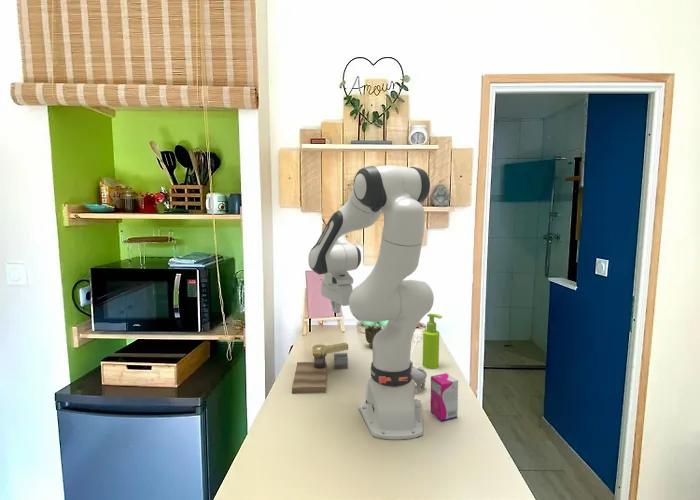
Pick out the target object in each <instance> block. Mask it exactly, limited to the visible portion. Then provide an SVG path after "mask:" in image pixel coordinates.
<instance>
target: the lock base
mask: <svg viewBox="0 0 700 500" xmlns="http://www.w3.org/2000/svg"><path fill="white" fill-rule="evenodd" d="M348 359H349V357H348V353H347V352H333V361H334V363H333V365H334V367H333V369H334V370H339V369H340V370H343V369H345V370H346V369H349V362H348V361H349V360H348ZM313 360H314V361H297V362H296V367H295V371H294V375H293V380H292V386H291V394H316V393H317V394H321V393H322V394H325V393H326V394H327V373H328V372H327V371H328V370H327V368H328V362H327V361H326V356H325V357H322V358H316V357H314V356H313Z"/></svg>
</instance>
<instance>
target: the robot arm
mask: <svg viewBox="0 0 700 500" xmlns="http://www.w3.org/2000/svg"><path fill="white" fill-rule="evenodd" d="M430 189H431V180H430V178H429V175H428V173H427V172H426V171H425V170H424V169H422V168H420V167H416V166H410V167H409V166H401V165H394V164H393V165H391V164H389V165H378V166H375V165H369V166H365V167H362V168H360V169H358V171H357V173H356V174H355V176H354V179H353V188H352V190H351V192H350V194H349V195H350V196H349V197H348V199H347V201H346V202H345V203H344V204H343V205H342V207H341V208H339V209H338V210H337V211H335V212H334V213H333V214H332V215H331V217H330V218H329V220H328V221H327V223H326V225H325V227H324V229H323V230H322V232H321V234H320V236H319V238H318V240H317V241H316V243H315V244H314V245H313V247H312V248H311V249H310V251H309V253H308V266H309V268H310V269H311V270H312V271H313V272H314V273H315V274H317V275H320V276H321V275H323V278H322V279H321V285H320V286H321V289H320V292H321V296H322V297H324V298H326V299H328V300H330V305H331V310H332V312H333V313H336V314H339V313H341V306H343V307H346V306H349V311H350V312H351V314H352V316H353V317H354V318H355V319H356V320H357V321H361V322H369V323H377V322H386V321H387V323H386V324H385V326H384V327H383V328H381V329H382V330H380V331H379V332H378V333H377V334H376V335H375V337H374V339H373V348H372V361H371V364H370V377H369V379H368V380H367V381H366V382H365V394H364V395H365V398H364V399H365V400H364V402H363V403H361V404H360V405H359V407H358V410H359V412H360V415H361V416H362V418H363V420H364V422H365V424H366V427H367V428H368V430H369V432H370V434H371V435H372V436H373V437H375V438H378V439H384V440H408V439H410V440H411V439H414V438H417V437H421V436H423V435H424V423H423V421H424V420H423V407H422V406H423V405H422V402H421V401H422V400H421V399H416V397H415V395H418V394H419V393H418V390H416V389H415V388H416V387H415V386H416V383H415V381H414V380H413V379H412V368H411V364H410V360H411V351H412V339H413V338H414V334H415V331H416V329H417V327H418V325H419V323H420V322H421V320H422V319H423V318H424V317H425V316H426V315H428V314H429V312H430V311H431V310H432V308H433V306H434V302H435V301H434V298H435V297H434V293H433V290H432V288H431V286H430V285H429V284H428V283H427V282H425V281H422V280H413V279H406V278H407V277H408V276H410V275H412V274H413V273H415V271H416V270H417V268H418V267H419V262H420V257H421V250H422V245H423V241H424V233H425V209H424V207H423V204H422V202H424V201H426V199H427V198H428V196H429V193H430ZM381 214H383V217H384V218H383V221H384V222H383V227H382V232H381V239H380V240H381V241H380V246H379V252H378V257H377V260H376V263H375V265H374V266H373V268H372V270H371V272H370V273H369V274H368V276H367V277H366V278H365V279H364V280H363V281H362V282H361V283H360V284H359V285H357V286H355V287H354V288H353V284H354V277H352V276H351V274H350V273H349V272H350V271H351V272H352V271H354V270H357V269H358V267H359V266H360V264H361V262H362V253H361V250H360V248H359V247H358V246H357V245H355V244H354V243H351V242H349V240H347V236H346V234H348V233H351V232H355V231H359V230H362V229H366V228H369V227H371V226H373V225H374V224H375V223H376V222H377V221H378V220H379V218H380V217H381Z"/></svg>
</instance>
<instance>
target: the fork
mask: <svg viewBox="0 0 700 500" xmlns="http://www.w3.org/2000/svg"><path fill="white" fill-rule="evenodd" d="M413 341H414V344H413V346H412V348H411V351H410V354H413V352H414V351H415V349H416V346H417V344H418V342H419V343H420V342H421V341H422V334H419V333H416V334H415V335H414V337H413Z"/></svg>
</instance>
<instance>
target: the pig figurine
mask: <svg viewBox="0 0 700 500" xmlns="http://www.w3.org/2000/svg"><path fill="white" fill-rule="evenodd" d="M410 364H411V368H412V379H413V380H414V381H415V385H416V389H415V390H418V394H419V393H420V392H421V390H423V389H424V390H425V387H426V382H427V381H426V379H427V371H425V369H424V368H422V367H420V366H418V367H416V366H414V365H413V361H412V360H411V359H410Z"/></svg>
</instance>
